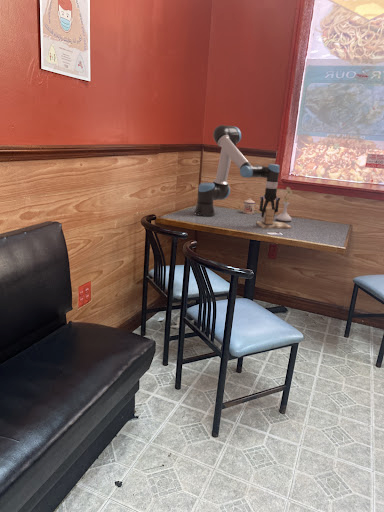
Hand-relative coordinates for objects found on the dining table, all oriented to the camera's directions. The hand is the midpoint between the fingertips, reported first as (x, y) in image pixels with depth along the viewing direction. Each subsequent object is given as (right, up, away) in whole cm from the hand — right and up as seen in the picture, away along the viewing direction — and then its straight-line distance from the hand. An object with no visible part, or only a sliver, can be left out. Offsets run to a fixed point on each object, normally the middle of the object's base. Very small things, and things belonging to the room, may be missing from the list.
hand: (267, 221), depth 273 cm
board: (+5, -3, +2) cm, 6 cm away
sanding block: (0, -1, 0) cm, 1 cm away
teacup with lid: (-5, +11, +45) cm, 46 cm away
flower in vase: (+17, +3, +24) cm, 30 cm away
